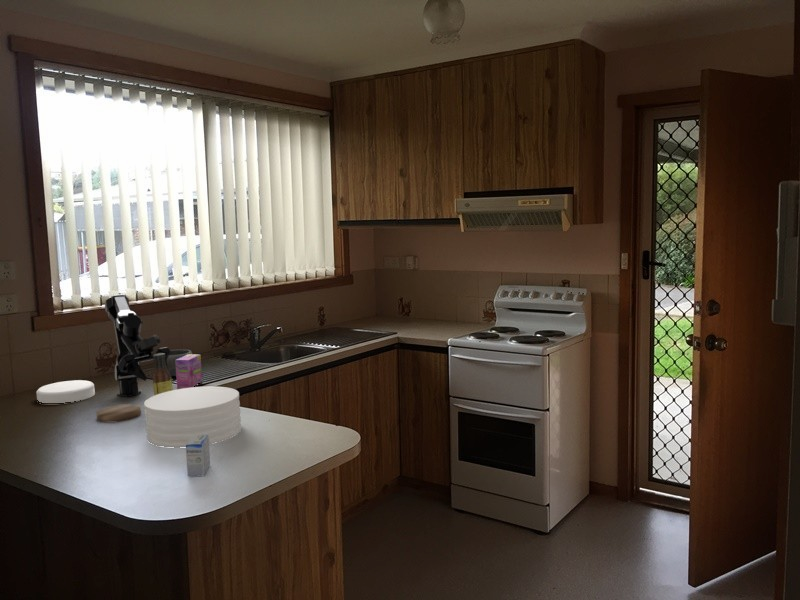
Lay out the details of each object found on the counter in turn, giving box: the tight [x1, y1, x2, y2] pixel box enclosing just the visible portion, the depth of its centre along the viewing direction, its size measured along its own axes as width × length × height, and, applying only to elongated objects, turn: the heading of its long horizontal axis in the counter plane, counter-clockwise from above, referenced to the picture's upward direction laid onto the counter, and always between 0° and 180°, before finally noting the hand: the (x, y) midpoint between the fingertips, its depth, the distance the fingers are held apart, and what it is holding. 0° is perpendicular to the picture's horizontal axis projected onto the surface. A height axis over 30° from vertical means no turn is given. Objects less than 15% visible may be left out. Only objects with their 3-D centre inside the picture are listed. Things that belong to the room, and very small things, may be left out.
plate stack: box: [143, 385, 242, 449], centre depth 216 cm, size 28×28×12 cm
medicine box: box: [185, 435, 211, 477], centre depth 183 cm, size 8×4×9 cm, turn 5°
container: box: [35, 379, 96, 404], centre depth 267 cm, size 20×20×5 cm
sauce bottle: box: [151, 353, 174, 396], centre depth 243 cm, size 7×6×20 cm
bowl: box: [167, 349, 193, 377], centre depth 297 cm, size 15×15×10 cm
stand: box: [96, 403, 142, 422], centre depth 239 cm, size 14×14×2 cm
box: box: [175, 353, 203, 390], centre depth 277 cm, size 10×6×12 cm, turn 168°
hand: (157, 376), depth 244 cm, fingers open, 9 cm apart
